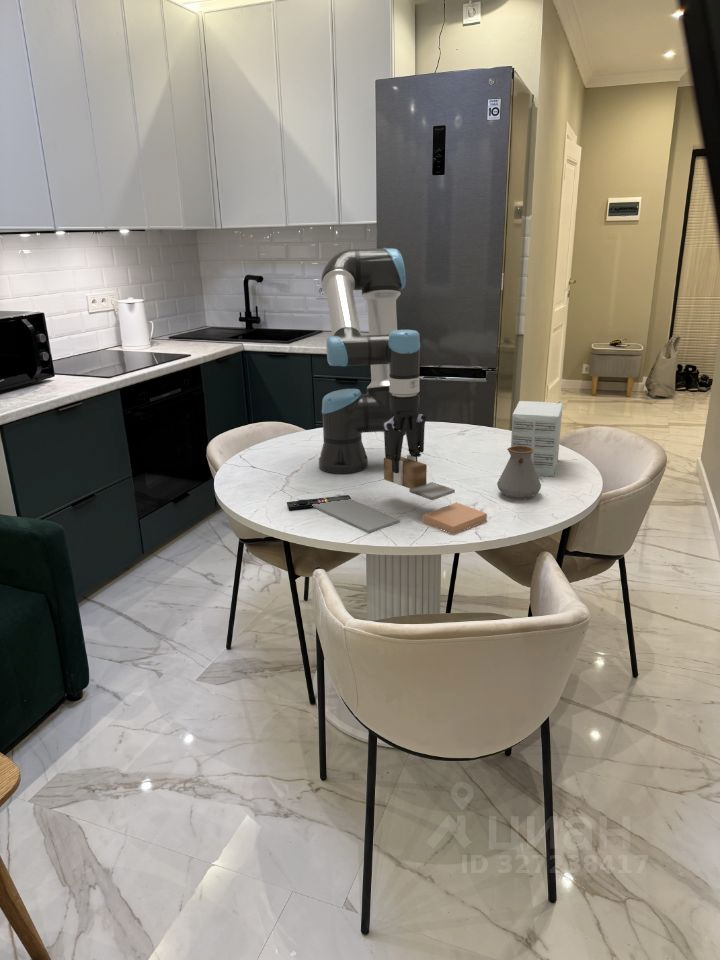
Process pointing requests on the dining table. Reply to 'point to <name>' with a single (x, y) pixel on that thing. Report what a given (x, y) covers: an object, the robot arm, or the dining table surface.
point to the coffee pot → (519, 475)
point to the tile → (454, 517)
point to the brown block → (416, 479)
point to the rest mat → (357, 514)
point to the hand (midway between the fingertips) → (404, 481)
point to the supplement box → (538, 433)
